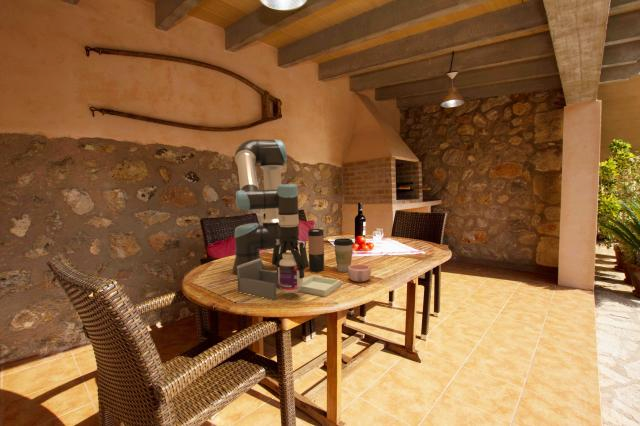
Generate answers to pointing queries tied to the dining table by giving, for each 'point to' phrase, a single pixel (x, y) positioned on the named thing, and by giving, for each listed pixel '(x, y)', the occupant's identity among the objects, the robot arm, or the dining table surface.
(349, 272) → the mug
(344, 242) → the coffee cup
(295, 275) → the pill bottle
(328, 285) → the tray
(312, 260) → the travel mug
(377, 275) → the dining table surface
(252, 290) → the bay
